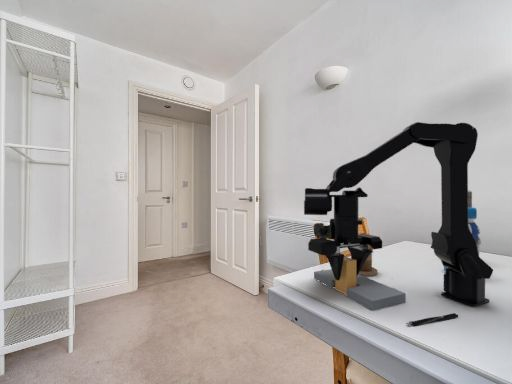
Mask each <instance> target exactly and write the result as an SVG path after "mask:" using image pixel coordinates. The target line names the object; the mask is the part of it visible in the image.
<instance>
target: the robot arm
mask: <svg viewBox="0 0 512 384" xmlns="http://www.w3.org/2000/svg"><path fill="white" fill-rule="evenodd" d="M478 135H479V133H478V130H477V128H476V127H474V126H473V125H472V124H470V123H467V122H458V123H455V124H454V123H453V124H451V123H428V122H427V123H426V122H421V121H420V122H418V121H416V122H414V123H411V124H410V125H408V126H406V127H405V128H404V129H402V131H401V132H399V133H398V134H396V135H394V136H392V137H391V138H390V139H388V140H386V141H385V142H384V143H382V144H380V145H378V147H376V148H374V149H373V150H371V151H369V152H368V153H367V154H365V155H362V156H361V157H358V158H356V159H353V160H351V161H349V162H346V163H345V164H342V165H340V166H339V167H337V168H336V169H335V170H334V171H333V173H332V180H331V181H330V182H329V184H328V185H327V186H326V187H325V188H312V187H311V188H309V187H306V188H305V189H304V200H303V215H304V216H305V215H306V216H327V215H328V213H330V212H331V211H332V210H333V218H330V219H329V225H325V224H324V223H323V222H320V223H319V222H318V223H315V224H314V225H313V233H314V236H315V237H317V238H311V239H309V241H308V244H307V245H308V250H307V251H310V252H313V253H316V254H318V255H320V256H325V258H326V259H327V260H328V264H329V266H330V269H332V272H333V274H334V277H335V279H336V280H339V279H340V276H341V271H342V265H343V259H344V256H345V254H343V253H341V249H345V248H347V249H348V251H349V254H350V258H351V259H354V260H356V277H357V275H358V273H359V272H360V270H361V268H362V266H363V264H364V263H365V261H366V260H367V258H368V257H369V255H370V254H371V253H372V254H373V253H374V250H380V249H383V240H382V239H381V237H380V236H377V235H372V234H368V233H362V234H359V226H361V225H363V220H362V219H359V198H367V197H368V196H369V195H368V193H366V192H365V191H364V190H363V189H362V187H356V186H357V185H358V184H359V183H361V181H363V180H364V179H365V178H367V176H368V175H369V174H371V172H372V171H373V170H374V169H375V168H376V167H378V166H379V165H381V164H382V163H384V162H386V161H387V160H388V159H390V158H392V157H393V156H395V155H396V154H398V153H400V152H401V151H403V150H404V149H406V148H407V147H409V146H411V145H413V144H417V145H419V146H423V147H427V148H433V151H434V152H433V153H434V156H435V158H436V160H437V161H438V163H439V165H440V168H441V169H440V171H441V173H440V174H441V176H440V177H441V179H440V180H441V181H440V182H441V183H440V185H441V188H440V189H441V226H440V228H439V230H438V231H437V232H435V231H431V236H430V237H431V239H432V240H431V245H430V248H431V249H433V252H434V255H435V256H436V257H437V258H438V259H439V260H440V262H441V263H442V266H443V267H444V266H445V267H448V268H446V273H444V274H443V292H441V296H442V297H445V298H448V299H451V300H454V301H456V302H460V303H462V304H465V305H467V306H470V307H477V306H480V305H483V304H487V303H490V299H489V298H487V297H486V279H488V280H490V279H491V277H492V275H493V272H494V269H493V268H492V267H491V266H490V265H489V264H488V263H486V262H485V261H484V260H483V258H481V257H480V252H479V253H478V248H477V243H476V240H475V239H474V237H473V235H472V233H471V231H470V230H469V227H468V191H469V181H468V180H469V177H468V175H469V172H468V170H469V169H468V168H469V167H468V164H469V162H470V160H471V158H473V157H472V156H473V155H474V153H475V151H476V148H477V141H478ZM353 187H356V189H355V190H343V189H349V188H350V189H351V188H353ZM341 190H343V191H342V194H330V193H338V192H340V191H341ZM368 245H370V246H371V247H372V248H373V249H372V250H369V247H368Z"/></svg>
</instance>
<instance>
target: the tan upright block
mask: <svg viewBox="0 0 512 384" xmlns="http://www.w3.org/2000/svg"><path fill="white" fill-rule="evenodd" d="M355 286H356V260H354V259H351V257H348V256H346V255H344V259H343V265H342V271H341V276H340V279H339V280H336V279H335V288H336V289H337V291H338V290H339V291H338V292H340V291H341V293H342V292H343V293H342V294H344V293H345V295H346V296H347V288H350V287H355ZM336 289H335V290H336Z"/></svg>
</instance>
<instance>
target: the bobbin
mask: <svg viewBox="0 0 512 384" xmlns="http://www.w3.org/2000/svg"><path fill="white" fill-rule="evenodd" d="M368 247H369V250H374V249H373V248H372V247H371V246H370V245H368ZM358 274H359V275H362V276H365V277H366V278H369V277H370V278H372V277H376V276H378V269H377V268H375V267H373V253H371V254H370V255H369V257H368V258H367V260H366V261H365V263H364V264H363V266H362V268H361V270H360V272H359V273H358Z"/></svg>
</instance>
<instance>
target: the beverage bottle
mask: <svg viewBox="0 0 512 384" xmlns="http://www.w3.org/2000/svg"><path fill="white" fill-rule="evenodd" d="M477 215H478V214H477V208H476V207H473V206H472V207H468V227H469V230H470V231H471V233H472V235H473V237H474V239H475V240H476V243H477V248H478V253H479V254H480V246H481V243H482V241H481V238H480V236H479V235H480V234H481V231H480V228H479V226H478V225H477V222H475V220H476V219H477ZM446 268H448V267H445V266H443V272H444V274H446Z"/></svg>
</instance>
